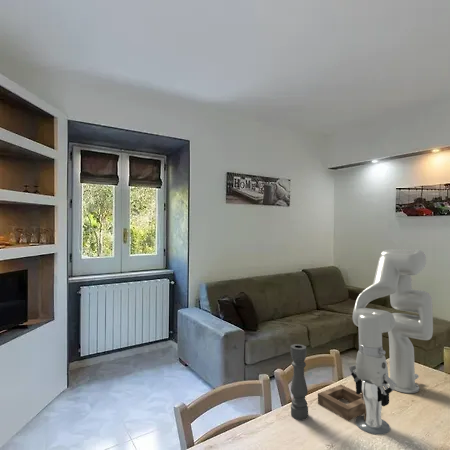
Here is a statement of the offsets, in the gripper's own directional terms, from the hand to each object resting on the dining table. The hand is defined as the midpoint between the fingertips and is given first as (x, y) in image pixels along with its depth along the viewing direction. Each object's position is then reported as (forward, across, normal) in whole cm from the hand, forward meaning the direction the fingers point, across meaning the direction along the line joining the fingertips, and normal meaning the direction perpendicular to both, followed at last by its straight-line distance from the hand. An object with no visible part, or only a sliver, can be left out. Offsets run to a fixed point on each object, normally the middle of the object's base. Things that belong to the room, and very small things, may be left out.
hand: (371, 398), depth 112 cm
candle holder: (+9, +18, +17) cm, 27 cm away
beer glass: (+9, 0, 0) cm, 9 cm away
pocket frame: (+9, +13, -2) cm, 16 cm away
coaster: (+9, 0, 0) cm, 9 cm away
